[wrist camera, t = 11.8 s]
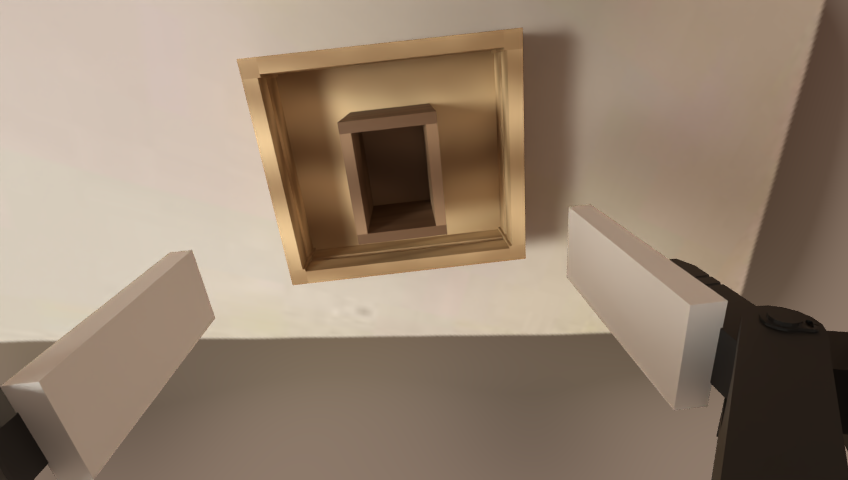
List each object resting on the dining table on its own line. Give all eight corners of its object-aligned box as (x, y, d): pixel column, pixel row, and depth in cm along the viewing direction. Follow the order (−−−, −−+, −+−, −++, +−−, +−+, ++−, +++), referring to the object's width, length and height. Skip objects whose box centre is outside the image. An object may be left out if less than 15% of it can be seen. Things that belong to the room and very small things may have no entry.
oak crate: (261, 61, 31) (236, 59, 26) (504, 34, 31) (522, 27, 26) (306, 258, 37) (292, 285, 32) (510, 235, 37) (525, 258, 32)
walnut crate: (350, 112, 32) (337, 122, 25) (429, 103, 32) (436, 111, 25) (366, 212, 35) (358, 244, 28) (438, 204, 35) (447, 234, 28)
